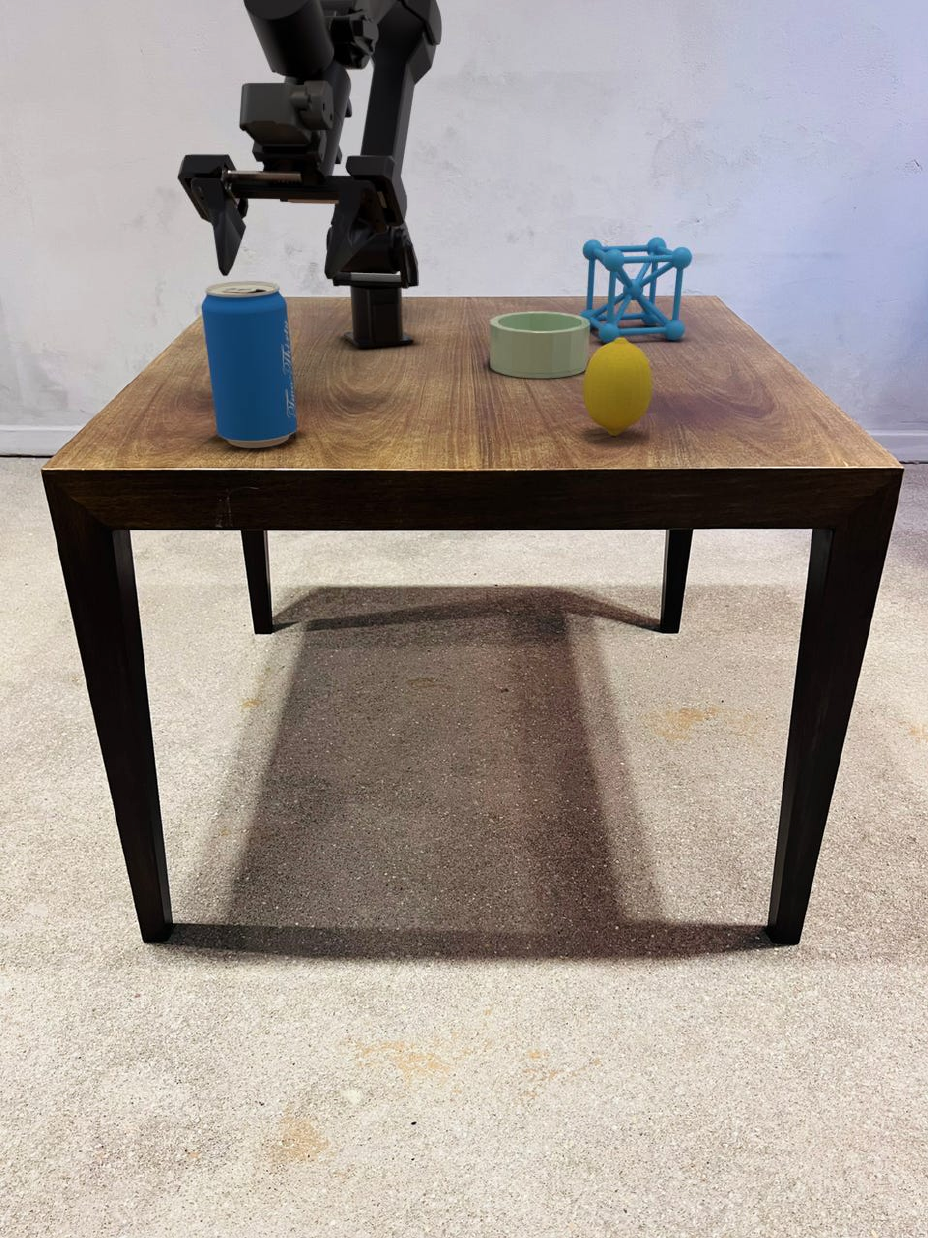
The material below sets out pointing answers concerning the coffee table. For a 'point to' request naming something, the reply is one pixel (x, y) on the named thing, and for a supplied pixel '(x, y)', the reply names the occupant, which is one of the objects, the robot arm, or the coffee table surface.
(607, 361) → the lemon
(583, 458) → the coffee table surface
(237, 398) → the beverage can
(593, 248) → the molecular structure
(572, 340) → the collar
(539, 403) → the coffee table surface
